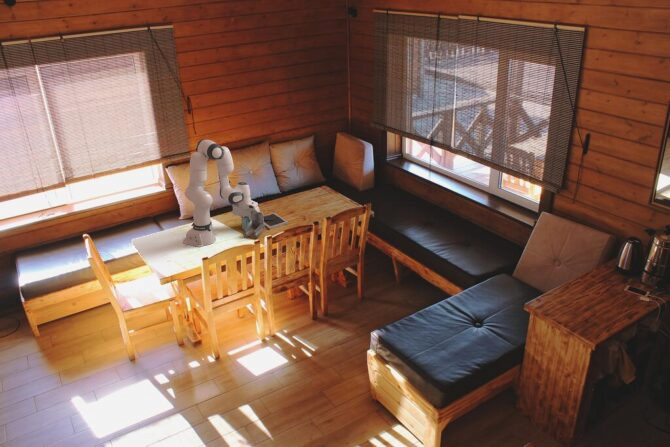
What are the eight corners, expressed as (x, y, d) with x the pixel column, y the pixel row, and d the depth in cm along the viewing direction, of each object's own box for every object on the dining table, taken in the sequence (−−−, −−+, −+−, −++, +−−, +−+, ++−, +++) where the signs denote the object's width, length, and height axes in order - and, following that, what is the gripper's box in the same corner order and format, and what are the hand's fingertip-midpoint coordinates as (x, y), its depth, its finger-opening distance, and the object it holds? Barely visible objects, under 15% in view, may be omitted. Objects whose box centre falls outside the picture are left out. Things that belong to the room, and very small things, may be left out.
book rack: (243, 237, 402) (241, 220, 396) (252, 228, 415) (250, 211, 409) (257, 239, 400) (255, 221, 394) (265, 229, 413) (263, 212, 407)
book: (242, 229, 414) (241, 219, 410) (248, 222, 423) (247, 213, 420) (247, 230, 413) (245, 219, 410) (253, 223, 422) (252, 213, 419)
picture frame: (256, 220, 428) (269, 230, 412) (255, 217, 427) (269, 226, 411) (274, 214, 436) (288, 224, 420) (274, 211, 435) (288, 220, 419)
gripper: (229, 204, 410) (232, 221, 417) (256, 206, 405) (258, 224, 411) (233, 200, 416) (236, 218, 422) (260, 203, 410) (261, 220, 416)
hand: (247, 221), depth 416 cm, fingers closed on book, 3 cm apart
